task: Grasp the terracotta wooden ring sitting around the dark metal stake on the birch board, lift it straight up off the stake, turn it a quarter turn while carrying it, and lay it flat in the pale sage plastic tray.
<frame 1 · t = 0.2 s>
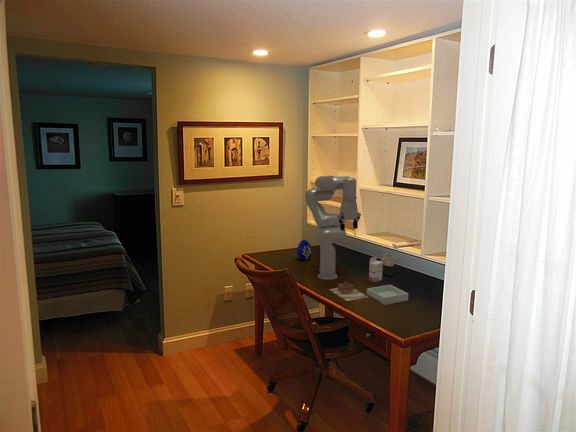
hand: (348, 229, 257), 36 cm above the table, tool pointing down, fingers open, 9 cm apart
tabbed ring: (345, 291, 257), point 1 cm above the table, touching stake board
ink cartridge box: (375, 280, 280), on the table
ornament: (304, 260, 326), on the table
stake board: (348, 294, 254), on the table
character mug: (388, 275, 291), on the table
tray: (387, 297, 250), on the table
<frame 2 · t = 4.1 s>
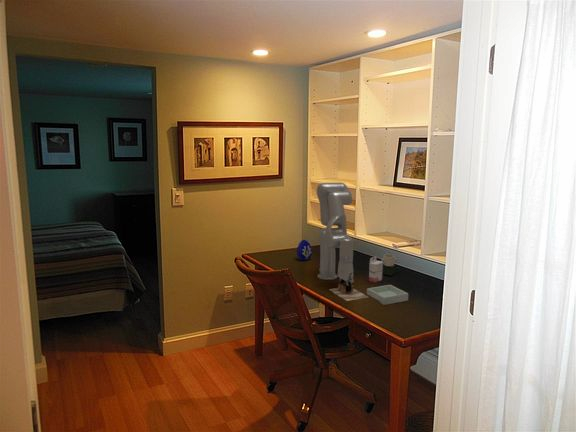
hand: (345, 289, 257), 2 cm above the table, tool pointing down, fingers closed on tabbed ring, 5 cm apart
tabbed ring: (345, 291, 257), point 1 cm above the table, touching gripper, stake board
everything else where it was.
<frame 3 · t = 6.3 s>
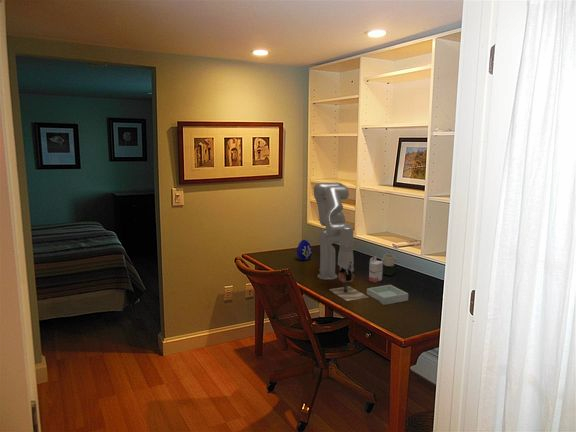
hand: (345, 278, 256), 9 cm above the table, tool pointing down, fingers closed on tabbed ring, 5 cm apart
tabbed ring: (345, 280, 256), point 8 cm above the table, touching gripper
everything else where it was.
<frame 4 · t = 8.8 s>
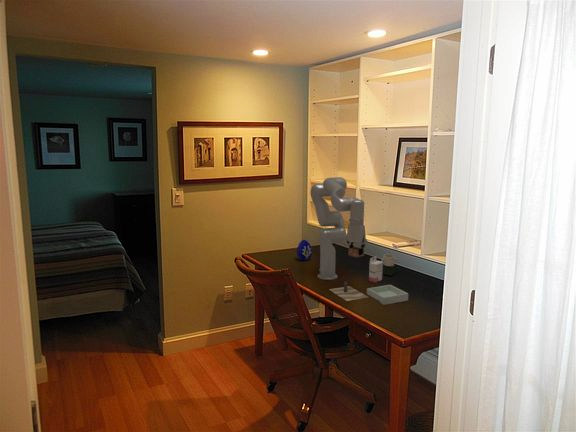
hand: (356, 253, 251), 24 cm above the table, tool pointing down, fingers closed on tabbed ring, 5 cm apart
tabbed ring: (356, 255, 251), point 23 cm above the table, touching gripper
everything else where it was.
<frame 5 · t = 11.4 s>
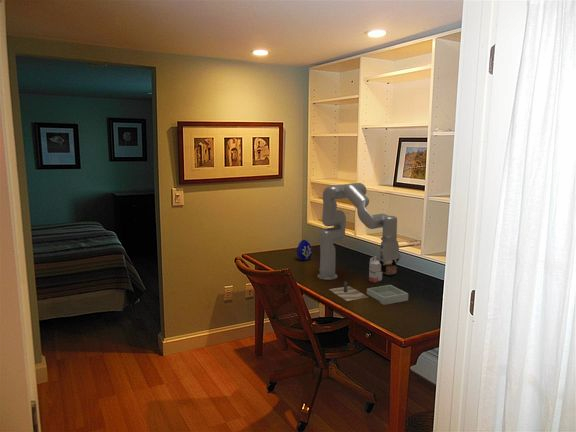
hand: (388, 270, 247), 16 cm above the table, tool pointing down, fingers closed on tabbed ring, 5 cm apart
tabbed ring: (388, 272, 247), point 15 cm above the table, touching gripper
everything else where it was.
when the fingers open (3 cm above the table, at t = 13.7 s): tabbed ring drops 1 cm, resting on tray.
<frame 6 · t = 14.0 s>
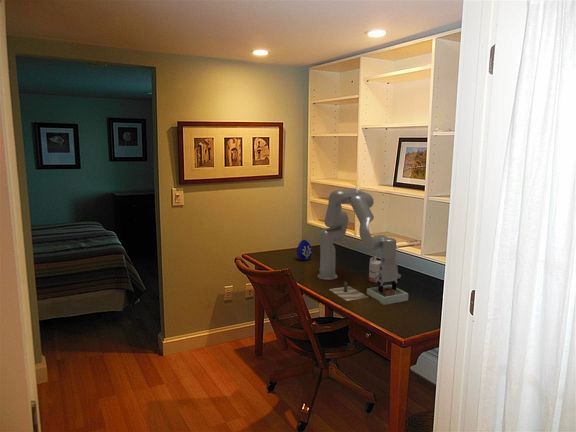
hand: (387, 290, 249), 4 cm above the table, tool pointing down, fingers open, 8 cm apart
tabbed ring: (387, 296, 249), point 1 cm above the table, touching tray
everything else where it was.
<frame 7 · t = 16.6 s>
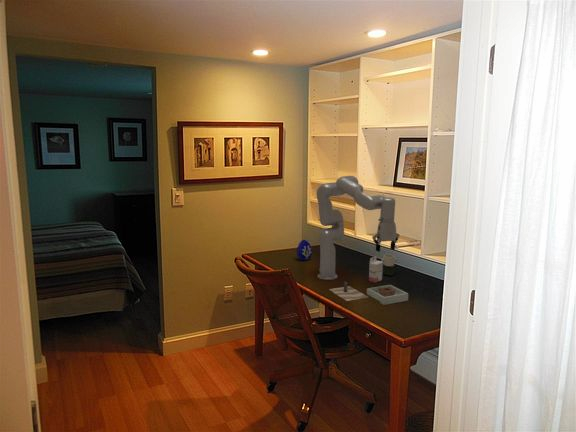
hand: (385, 250, 250), 26 cm above the table, tool pointing down, fingers open, 9 cm apart
nothing on the table moved.
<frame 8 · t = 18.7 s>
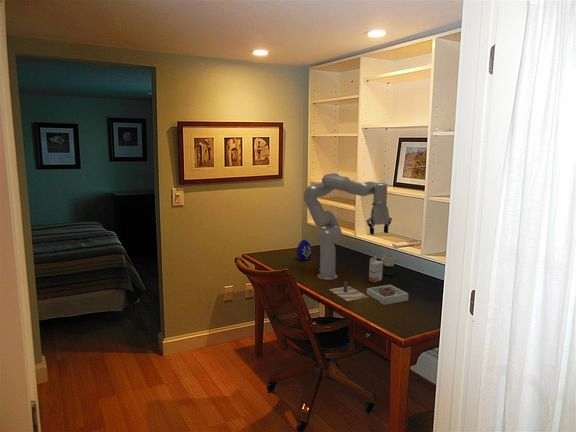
hand: (378, 233, 262), 32 cm above the table, tool pointing down, fingers open, 9 cm apart
nothing on the table moved.
at the end: tabbed ring inside the target area on the tray (0.1 cm from its centre), point 1.0 cm above the tray's base; tabbed ring tilted 0°; the gripper is holding nothing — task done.
